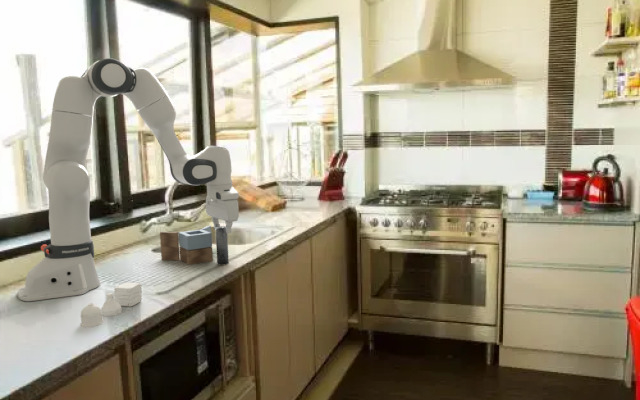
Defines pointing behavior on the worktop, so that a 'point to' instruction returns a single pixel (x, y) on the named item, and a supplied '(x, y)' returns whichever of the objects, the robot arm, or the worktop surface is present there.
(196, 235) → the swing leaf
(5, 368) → the worktop surface
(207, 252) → the hinge frame
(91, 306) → the container set
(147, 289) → the worktop surface
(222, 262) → the dark grey tall bar
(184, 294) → the worktop surface
